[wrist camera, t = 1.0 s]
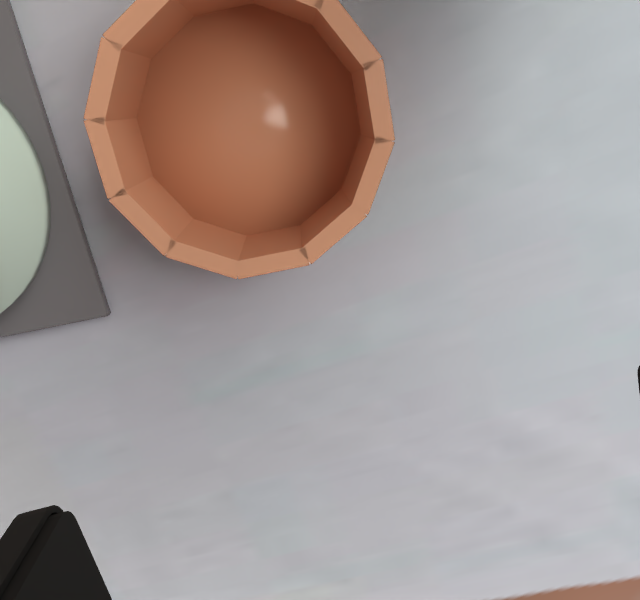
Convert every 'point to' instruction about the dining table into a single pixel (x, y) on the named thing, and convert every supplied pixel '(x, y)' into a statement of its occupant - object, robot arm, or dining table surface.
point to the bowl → (240, 128)
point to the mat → (66, 228)
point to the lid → (20, 210)
